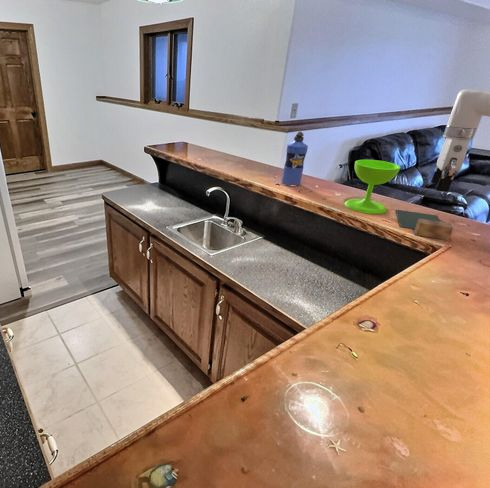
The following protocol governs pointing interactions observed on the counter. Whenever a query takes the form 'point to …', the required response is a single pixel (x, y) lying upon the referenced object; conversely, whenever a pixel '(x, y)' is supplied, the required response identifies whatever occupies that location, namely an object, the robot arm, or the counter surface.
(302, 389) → the counter surface
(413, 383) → the counter surface
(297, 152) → the water bottle
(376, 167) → the wineglass
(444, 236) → the eraser
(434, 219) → the chalkboard
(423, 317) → the counter surface
